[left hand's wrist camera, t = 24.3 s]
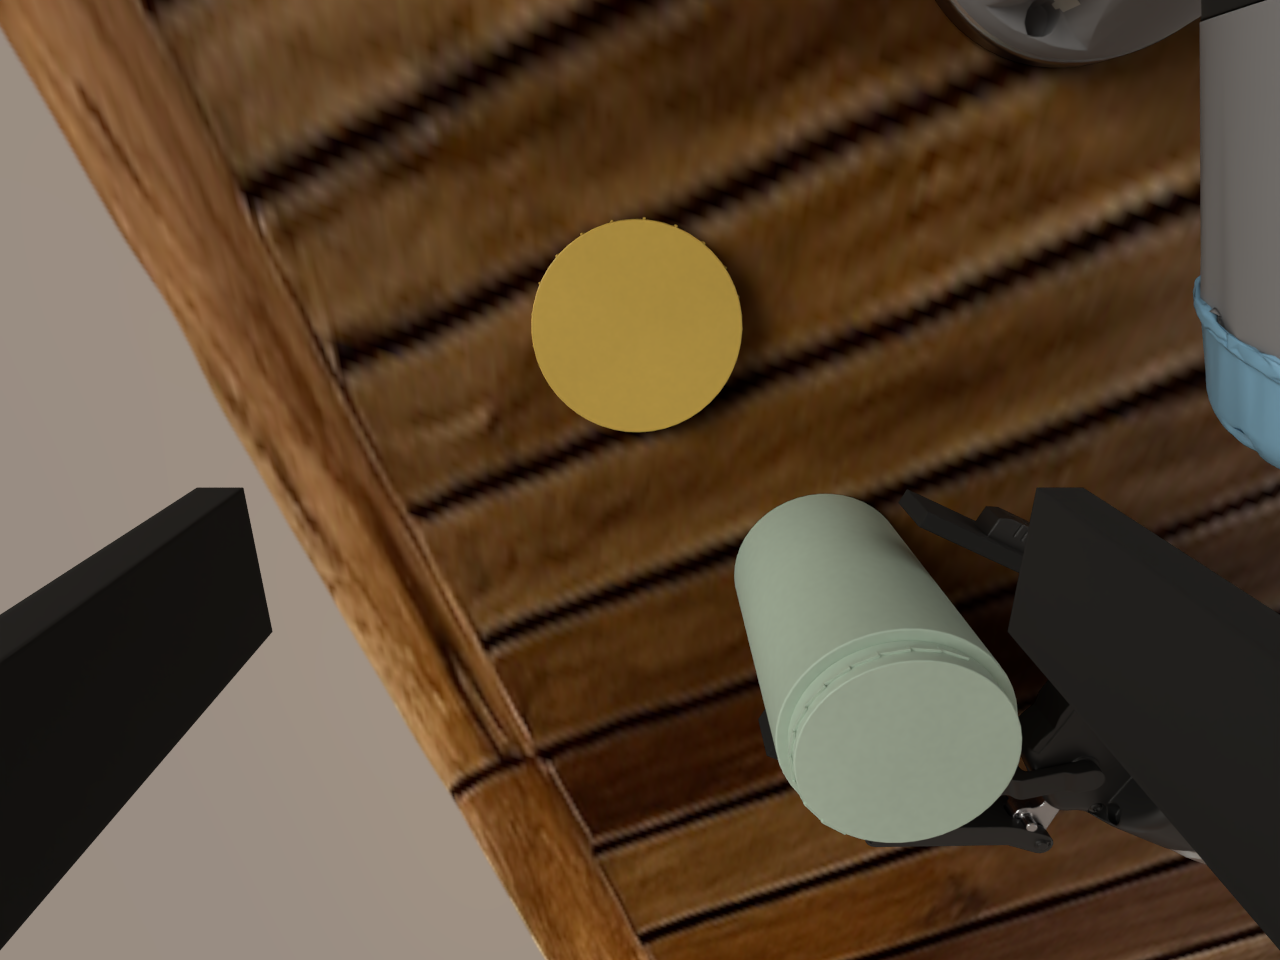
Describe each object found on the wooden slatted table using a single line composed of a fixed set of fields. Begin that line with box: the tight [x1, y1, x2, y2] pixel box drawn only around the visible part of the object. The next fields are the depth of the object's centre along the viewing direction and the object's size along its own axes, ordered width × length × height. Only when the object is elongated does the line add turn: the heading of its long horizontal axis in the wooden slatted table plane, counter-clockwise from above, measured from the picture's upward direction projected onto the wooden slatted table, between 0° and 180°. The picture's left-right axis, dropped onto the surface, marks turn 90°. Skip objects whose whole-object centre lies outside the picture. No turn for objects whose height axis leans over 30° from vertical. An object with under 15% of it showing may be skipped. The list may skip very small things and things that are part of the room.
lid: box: [531, 217, 743, 432], centre depth 36 cm, size 10×10×2 cm
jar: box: [734, 494, 1022, 843], centre depth 34 cm, size 9×9×15 cm
